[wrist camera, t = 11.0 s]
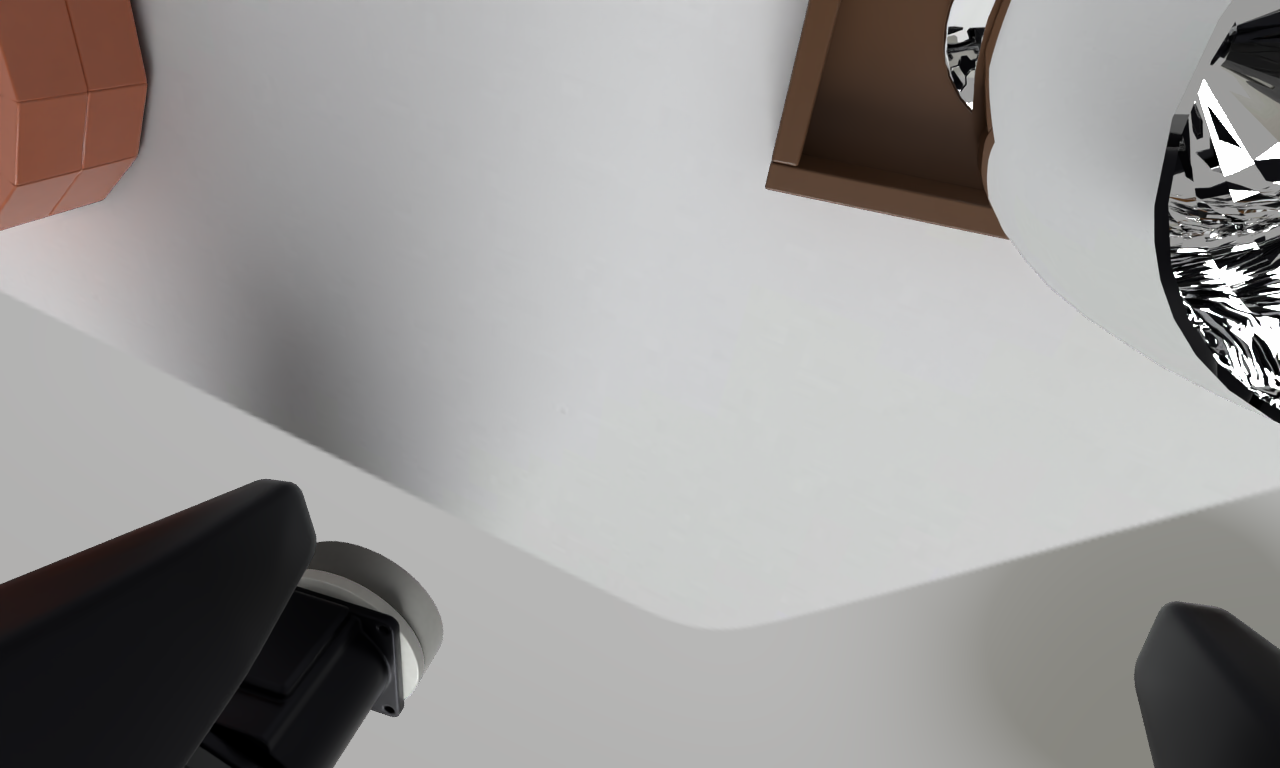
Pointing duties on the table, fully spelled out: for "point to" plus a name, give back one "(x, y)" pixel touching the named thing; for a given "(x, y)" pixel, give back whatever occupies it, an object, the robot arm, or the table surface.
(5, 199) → the bowl
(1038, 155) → the wineglass
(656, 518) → the table surface
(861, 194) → the tray
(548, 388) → the table surface
